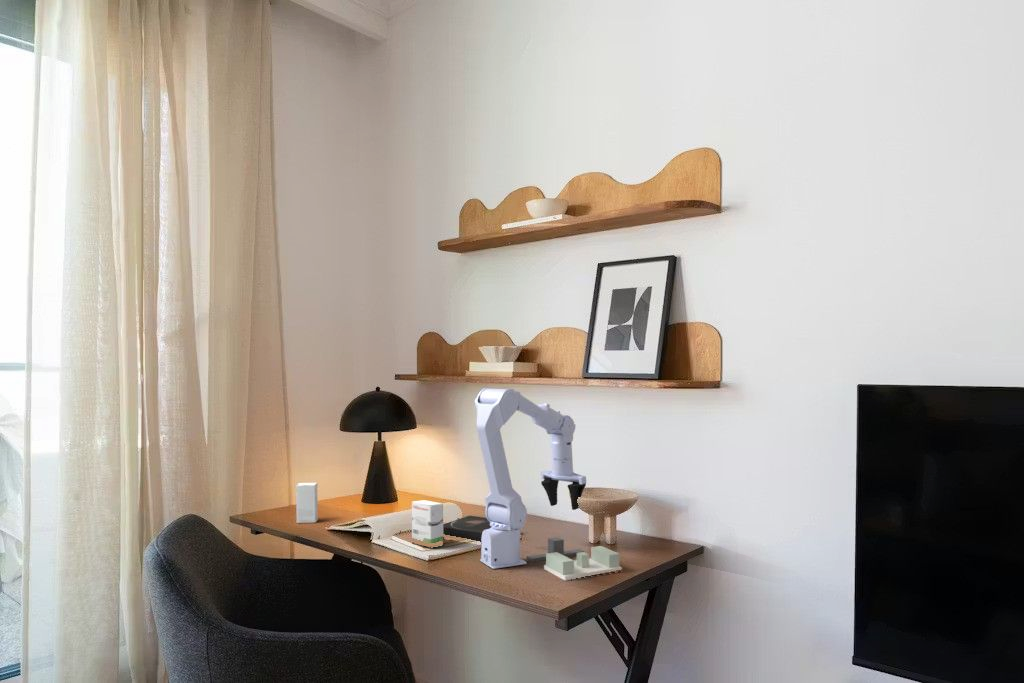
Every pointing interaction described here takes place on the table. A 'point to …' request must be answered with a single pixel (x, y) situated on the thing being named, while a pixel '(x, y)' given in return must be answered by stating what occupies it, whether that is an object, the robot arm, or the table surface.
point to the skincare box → (306, 502)
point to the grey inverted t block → (554, 550)
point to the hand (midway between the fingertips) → (564, 506)
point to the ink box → (427, 521)
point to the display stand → (582, 563)
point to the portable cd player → (467, 527)
